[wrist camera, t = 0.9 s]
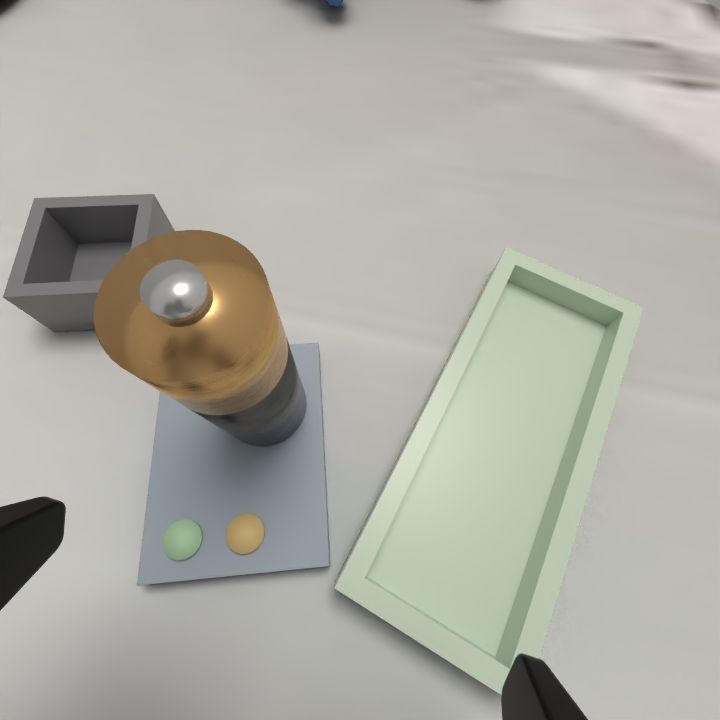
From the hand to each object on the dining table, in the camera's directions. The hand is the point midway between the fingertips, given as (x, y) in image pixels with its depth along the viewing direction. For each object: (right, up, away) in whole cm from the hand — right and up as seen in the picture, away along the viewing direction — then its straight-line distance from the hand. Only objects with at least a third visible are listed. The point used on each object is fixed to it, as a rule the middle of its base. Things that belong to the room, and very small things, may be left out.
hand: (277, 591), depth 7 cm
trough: (+10, 0, +16) cm, 18 cm away
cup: (-14, +10, +19) cm, 26 cm away
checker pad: (-5, -1, +15) cm, 16 cm away
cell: (-4, +2, +14) cm, 15 cm away
